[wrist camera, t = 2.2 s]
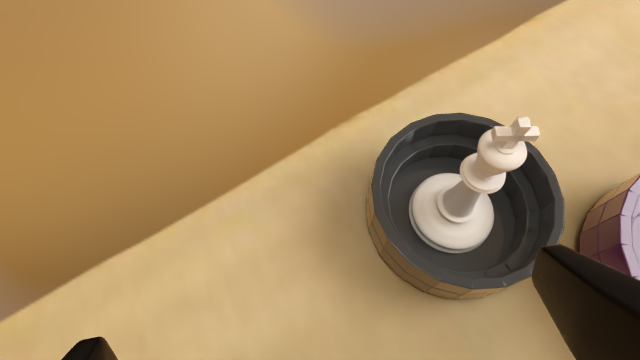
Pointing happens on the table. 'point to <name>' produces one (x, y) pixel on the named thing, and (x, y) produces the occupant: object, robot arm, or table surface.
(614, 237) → the plum bowl
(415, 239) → the charcoal bowl
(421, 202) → the chess piece
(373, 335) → the table surface
